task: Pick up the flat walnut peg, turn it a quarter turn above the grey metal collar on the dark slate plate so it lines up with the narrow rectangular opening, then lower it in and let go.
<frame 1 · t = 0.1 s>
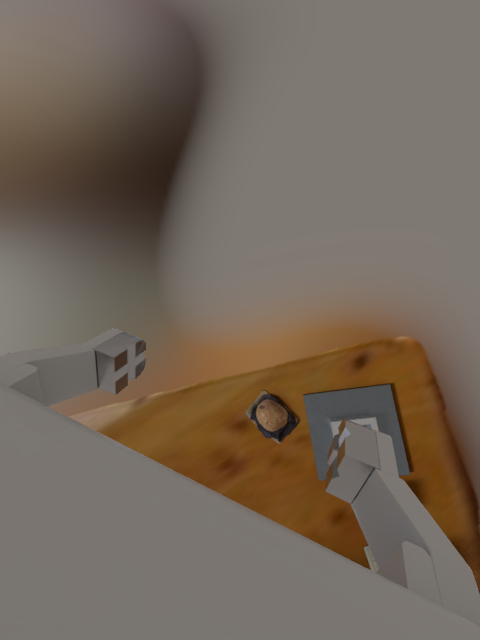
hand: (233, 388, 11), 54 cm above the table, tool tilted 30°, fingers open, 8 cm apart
metal duct collar: (353, 431, 59), on the table
bread roll: (271, 415, 64), on the table
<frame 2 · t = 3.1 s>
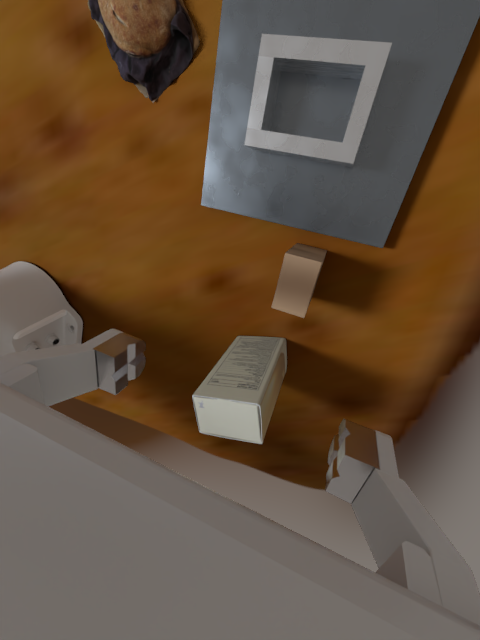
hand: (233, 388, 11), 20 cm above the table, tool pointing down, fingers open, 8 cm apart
metal duct collar: (314, 113, 23), on the table
walnut peg: (304, 270, 28), on the table
skincare box: (263, 351, 34), on the table
bread roll: (147, 26, 25), on the table
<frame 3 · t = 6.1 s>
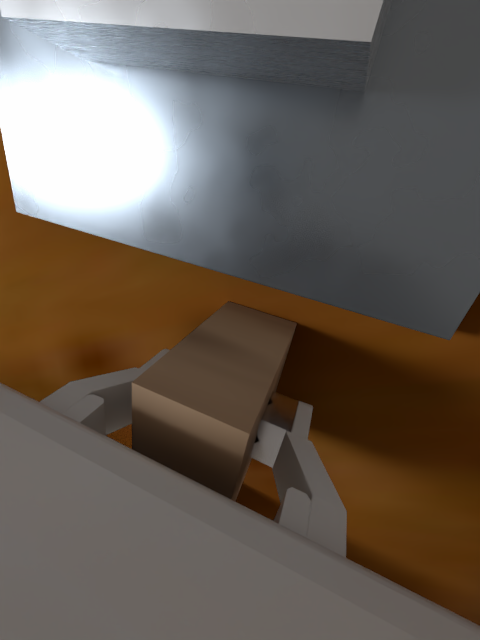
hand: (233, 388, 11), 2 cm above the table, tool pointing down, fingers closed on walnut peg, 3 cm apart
walnut peg: (250, 360, 12), on the table, touching gripper
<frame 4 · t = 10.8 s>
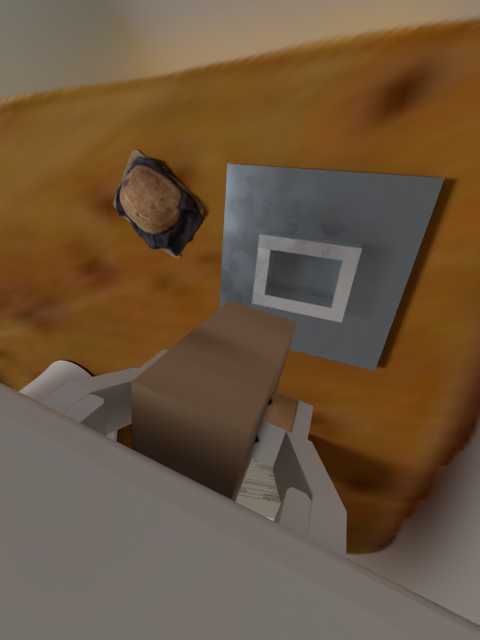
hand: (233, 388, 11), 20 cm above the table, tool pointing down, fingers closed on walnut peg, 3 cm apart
metal duct collar: (306, 270, 28), on the table
walnut peg: (250, 360, 12), point 18 cm above the table, touching gripper
skincare box: (281, 438, 38), on the table
bread roll: (160, 206, 32), on the table
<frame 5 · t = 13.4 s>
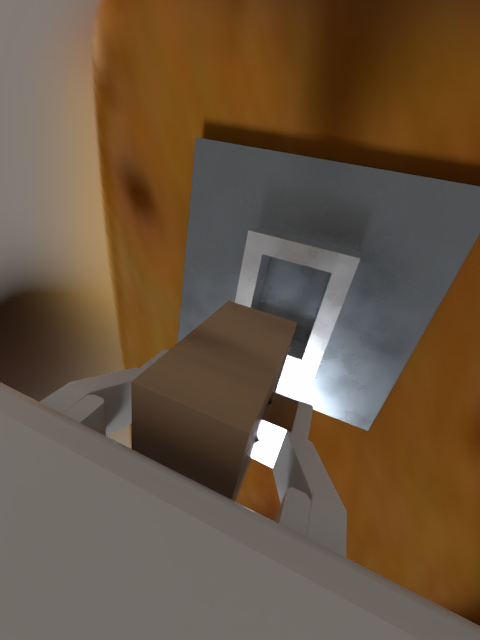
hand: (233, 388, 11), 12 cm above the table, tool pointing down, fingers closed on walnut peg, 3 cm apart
metal duct collar: (292, 294, 21), on the table
walnut peg: (250, 360, 12), point 10 cm above the table, touching gripper
when the fingers open (4 cm above the table, at t = 15.7 s): walnut peg drops 1 cm, resting on metal duct collar.
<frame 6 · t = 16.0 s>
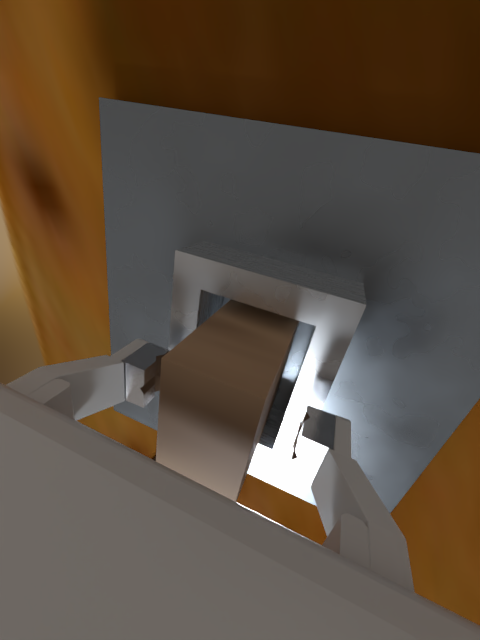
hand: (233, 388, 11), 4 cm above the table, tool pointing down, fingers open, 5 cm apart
metal duct collar: (263, 339, 14), on the table
walnut peg: (257, 348, 13), point 1 cm above the table, touching metal duct collar
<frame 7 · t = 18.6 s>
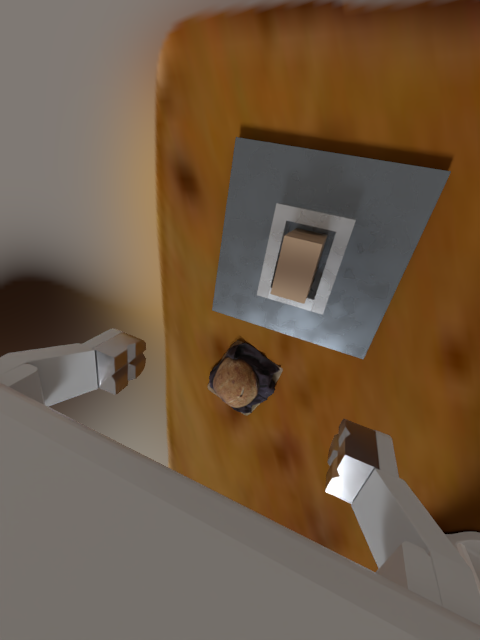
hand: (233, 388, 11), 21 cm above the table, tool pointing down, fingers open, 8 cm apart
metal duct collar: (305, 254, 28), on the table
walnut peg: (304, 256, 27), point 1 cm above the table, touching metal duct collar
bread roll: (244, 376, 38), on the table
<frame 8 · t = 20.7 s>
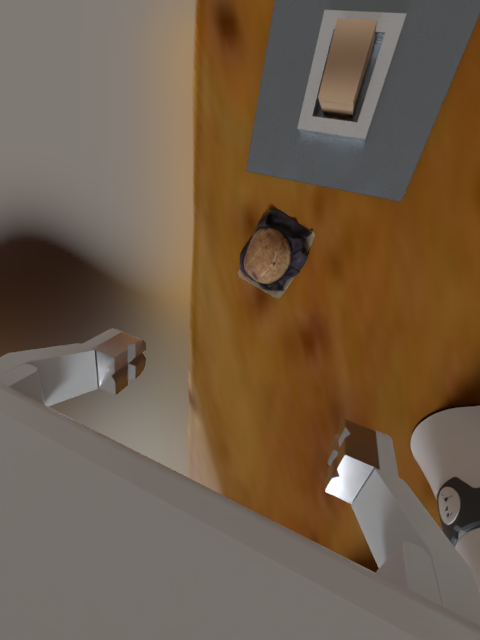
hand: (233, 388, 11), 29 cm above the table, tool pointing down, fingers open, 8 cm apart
metal duct collar: (346, 90, 28), on the table
walnut peg: (346, 87, 27), point 1 cm above the table, touching metal duct collar
bread roll: (274, 254, 38), on the table
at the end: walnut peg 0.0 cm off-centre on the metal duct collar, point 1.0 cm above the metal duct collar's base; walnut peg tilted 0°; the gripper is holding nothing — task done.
